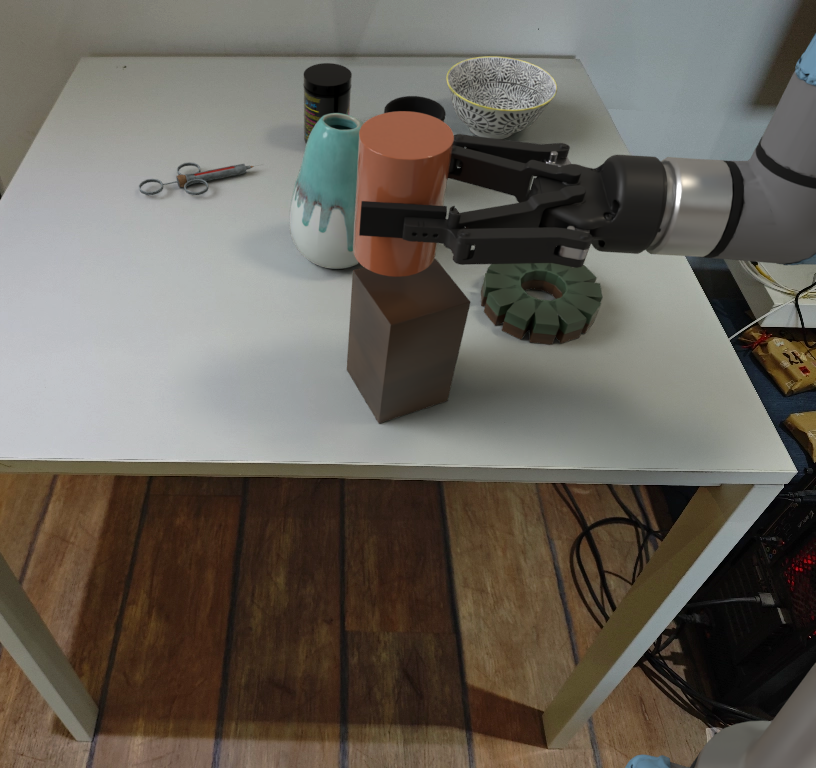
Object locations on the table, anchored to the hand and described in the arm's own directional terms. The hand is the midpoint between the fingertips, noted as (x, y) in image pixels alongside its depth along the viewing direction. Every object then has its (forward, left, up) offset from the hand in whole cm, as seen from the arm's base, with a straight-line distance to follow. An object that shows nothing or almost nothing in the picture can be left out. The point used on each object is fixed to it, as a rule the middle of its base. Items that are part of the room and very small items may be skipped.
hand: (363, 189), depth 59 cm
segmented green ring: (+3, -25, -24) cm, 35 cm away
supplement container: (+45, -16, -24) cm, 53 cm away
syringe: (+42, +4, -24) cm, 48 cm away
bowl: (+39, -41, -24) cm, 61 cm away
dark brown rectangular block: (-2, -4, -24) cm, 24 cm away
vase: (+21, -7, -24) cm, 33 cm away
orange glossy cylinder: (-2, -3, -6) cm, 7 cm away
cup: (+29, -21, -24) cm, 43 cm away
